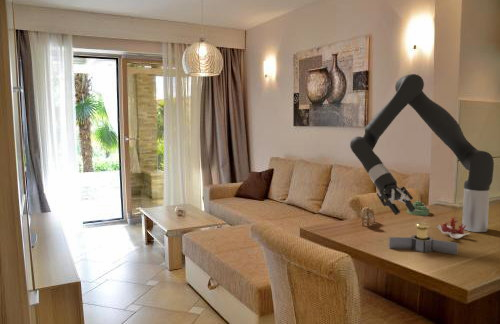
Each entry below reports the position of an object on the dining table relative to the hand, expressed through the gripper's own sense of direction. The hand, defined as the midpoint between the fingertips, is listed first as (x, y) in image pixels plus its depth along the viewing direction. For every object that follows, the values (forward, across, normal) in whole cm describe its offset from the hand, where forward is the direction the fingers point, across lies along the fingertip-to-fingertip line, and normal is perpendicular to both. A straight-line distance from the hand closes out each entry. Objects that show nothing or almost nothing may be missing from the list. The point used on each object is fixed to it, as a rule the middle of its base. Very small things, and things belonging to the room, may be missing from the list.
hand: (405, 212), depth 147 cm
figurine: (+12, +23, +6) cm, 26 cm away
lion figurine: (-10, +9, +27) cm, 30 cm away
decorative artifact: (-11, +46, +29) cm, 55 cm away
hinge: (+14, -1, +3) cm, 15 cm away
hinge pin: (+13, 0, +4) cm, 14 cm away
